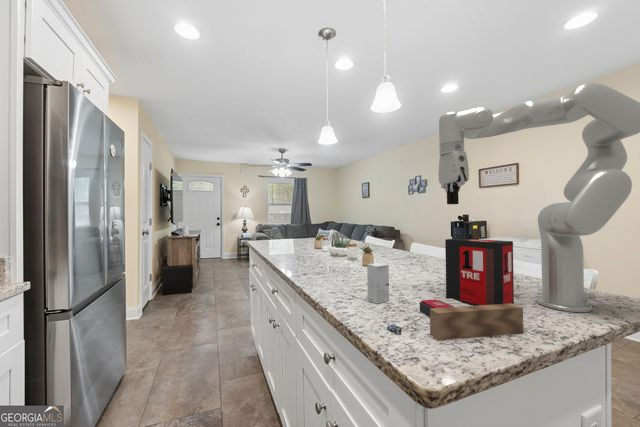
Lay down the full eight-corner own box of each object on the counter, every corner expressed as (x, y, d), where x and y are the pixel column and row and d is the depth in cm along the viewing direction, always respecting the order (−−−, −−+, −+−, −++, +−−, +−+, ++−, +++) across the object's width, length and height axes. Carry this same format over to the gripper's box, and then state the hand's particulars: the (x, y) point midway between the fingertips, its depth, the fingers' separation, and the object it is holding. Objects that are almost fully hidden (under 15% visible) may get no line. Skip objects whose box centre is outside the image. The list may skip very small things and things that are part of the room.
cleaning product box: (446, 299, 88) (445, 239, 89) (458, 294, 94) (458, 238, 94) (502, 313, 75) (501, 243, 75) (513, 306, 80) (512, 241, 81)
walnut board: (512, 327, 65) (511, 303, 65) (523, 332, 62) (522, 307, 62) (430, 334, 62) (429, 308, 62) (437, 340, 59) (437, 313, 59)
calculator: (452, 297, 80) (491, 312, 65) (453, 311, 79) (492, 330, 64) (418, 299, 78) (451, 315, 63) (419, 313, 78) (451, 333, 63)
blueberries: (402, 326, 69) (402, 318, 69) (418, 337, 61) (418, 329, 61) (378, 328, 68) (377, 320, 68) (391, 340, 60) (390, 331, 60)
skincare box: (376, 304, 83) (376, 266, 83) (366, 300, 87) (366, 264, 87) (390, 300, 86) (389, 264, 87) (379, 297, 90) (379, 262, 90)
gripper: (477, 144, 82) (479, 202, 82) (447, 155, 97) (448, 205, 97) (456, 143, 81) (457, 203, 81) (429, 155, 96) (430, 205, 96)
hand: (452, 204), depth 89 cm, fingers closed
